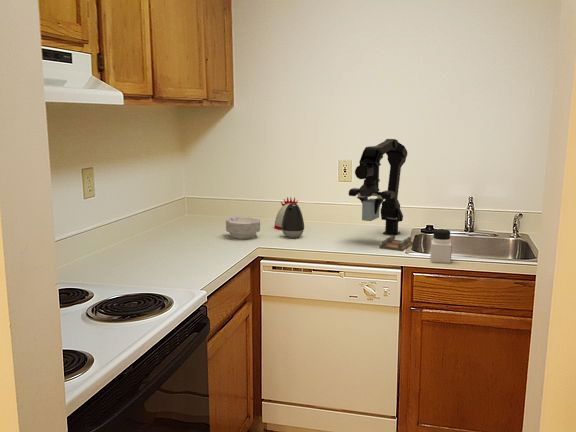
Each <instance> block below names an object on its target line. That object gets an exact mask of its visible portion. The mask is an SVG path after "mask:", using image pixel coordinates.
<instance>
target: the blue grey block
mask: <svg viewBox="0 0 576 432" xmlns="http://www.w3.org/2000/svg"><path fill="white" fill-rule="evenodd" d="M375 199H376V198H374V197H373V198H371V197H370V198H368V200H365V201H362V202H361V204H362V205H361V206H362V207H361V221H365V222H373V221H374V220H375V221H376V220H377V219H380V210H381V206H380V207H379V209H378V212H377V214H375V204H376V201H375Z"/></svg>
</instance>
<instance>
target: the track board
mask: <svg viewBox="0 0 576 432" xmlns="http://www.w3.org/2000/svg"><path fill="white" fill-rule="evenodd" d="M412 245H414V241H412V237H411V236H408V237H406V238H405V239H402V240H401V239H396V235H390V236H389V237H387V238H385V239H382V241H381V244H380V245H378V248H379V249H382V250H392V251H398V252H404V251H406V250H407V249H408V248H409V247H411V246H412Z"/></svg>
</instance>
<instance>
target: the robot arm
mask: <svg viewBox="0 0 576 432" xmlns="http://www.w3.org/2000/svg"><path fill="white" fill-rule="evenodd" d="M384 155H386V156H387V162H388V164H389V166H390V167H389V176H388V182H387V184H388V185H387V190H383V191H380V188H379V186H380V185H379V183H380V182H381V179H380V166H381V165H382V164H381V160H382V159H383V158H384ZM407 157H408V150H407V149H406V146H405V145H403V144H402V143H400V142H399V141H398V139H396V138H387V139H385V140H384V141H382V142H380V143H379V144H376V145H374V146H373V145H369V146H366V147H365V148H364V149H363V151H362V153H361V156H360V159H359V162H358V163H359V165H357V167H356V168H355V170H354V174H355V177H356V178H357V179H359V180H363V184H362V185H361V186H360V188H357V187H353V188H351V189H349V190H348V196H349V197H356V199H358V200H360V202H361V203H362V201H365V200H368V199H369V198H371V197H376V198H374V199H375V201H376V204H375V214H377V212H378V209H379V207H380V209H379V210H380V218H381V220H382V221H385V227H384V228H385V230H384V231H383V232H382V234H384V235H385V234H386V235H390V236H392V235H395V236H397V235H399V234H401V231H399V222H402V221H403V219H404V214H403V212H402V210H401V204H400V202H399V199H398V198H399V188H400V181H401V180H400V178H401V171H402V166H403V165H404V164H405V163H406V160H407Z"/></svg>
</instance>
